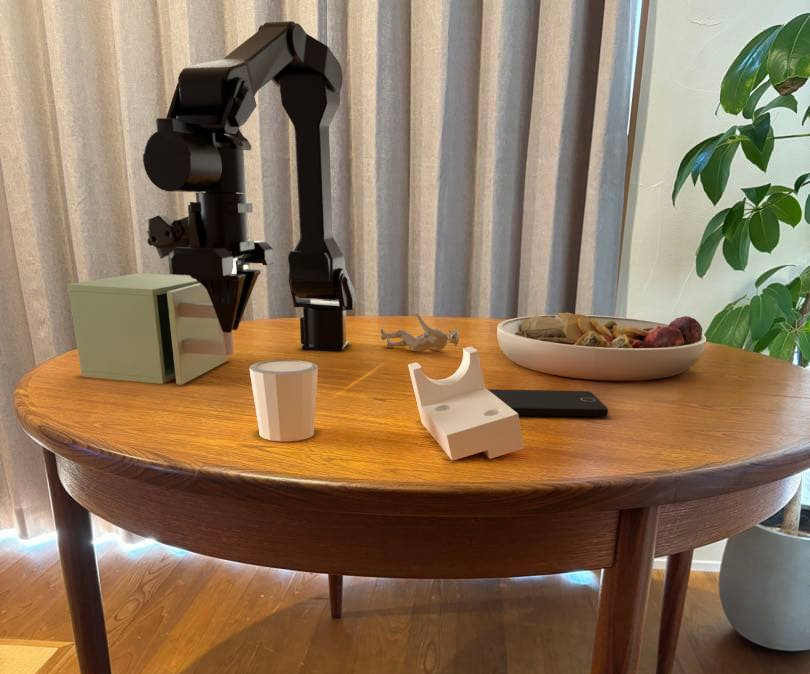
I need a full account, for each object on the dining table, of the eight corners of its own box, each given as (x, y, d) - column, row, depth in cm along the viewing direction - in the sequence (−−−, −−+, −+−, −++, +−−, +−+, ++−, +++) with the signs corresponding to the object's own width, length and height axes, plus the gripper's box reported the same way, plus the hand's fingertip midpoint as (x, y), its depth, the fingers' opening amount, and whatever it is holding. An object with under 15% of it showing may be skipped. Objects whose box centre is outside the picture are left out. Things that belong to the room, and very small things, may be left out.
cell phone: (608, 417, 87) (609, 409, 86) (450, 415, 86) (451, 406, 86) (589, 398, 95) (590, 390, 94) (445, 395, 94) (445, 388, 94)
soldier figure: (395, 350, 126) (464, 331, 122) (395, 374, 124) (466, 356, 120) (376, 321, 120) (449, 300, 116) (377, 346, 118) (451, 325, 114)
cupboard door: (269, 363, 110) (265, 280, 105) (229, 387, 96) (222, 293, 91) (222, 360, 111) (216, 278, 106) (176, 384, 97) (166, 291, 92)
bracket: (423, 430, 84) (407, 364, 81) (484, 412, 85) (471, 346, 81) (454, 469, 73) (437, 394, 69) (524, 448, 73) (510, 372, 70)
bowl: (470, 372, 107) (473, 315, 104) (522, 339, 133) (526, 292, 129) (694, 396, 97) (705, 333, 94) (704, 355, 123) (713, 304, 119)
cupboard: (221, 361, 111) (215, 277, 106) (163, 384, 97) (152, 289, 92) (148, 355, 114) (138, 273, 109) (81, 377, 100) (67, 284, 95)
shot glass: (326, 425, 82) (324, 360, 79) (312, 445, 76) (310, 374, 73) (263, 422, 82) (259, 357, 79) (245, 441, 76) (240, 371, 73)
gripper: (188, 191, 98) (198, 317, 104) (115, 190, 81) (133, 340, 87) (272, 194, 96) (277, 321, 103) (215, 193, 79) (225, 345, 86)
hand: (230, 330), depth 95 cm, fingers closed on cupboard door, 2 cm apart
